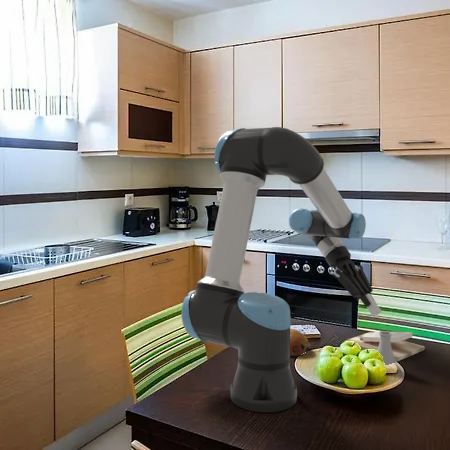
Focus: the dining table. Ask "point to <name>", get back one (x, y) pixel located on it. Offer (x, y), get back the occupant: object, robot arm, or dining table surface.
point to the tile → (395, 337)
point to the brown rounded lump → (298, 343)
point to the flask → (386, 347)
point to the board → (399, 349)
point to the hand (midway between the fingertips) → (377, 314)
